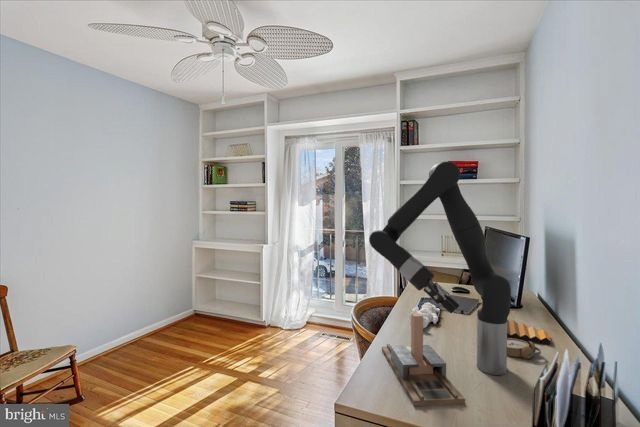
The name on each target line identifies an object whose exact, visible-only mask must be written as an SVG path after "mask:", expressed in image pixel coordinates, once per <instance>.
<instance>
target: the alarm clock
mask: <svg viewBox="0 0 640 427" xmlns="http://www.w3.org/2000/svg"><path fill="white" fill-rule="evenodd" d="M536 351H537V352H536ZM541 354H542V350H541V348H539V347H537V346H536V345H535V343H533V342H532V341H531V340H530V341H528V342H527V341H523V340H521V339H514V338H512V337H510V338H507V356H509V357H520V358H521V357H522V358H523V359H525V360H529V359H531V358H533V356H539V355H541Z"/></svg>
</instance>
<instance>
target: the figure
mask: <svg viewBox="0 0 640 427" xmlns="http://www.w3.org/2000/svg"><path fill="white" fill-rule="evenodd" d="M440 311H441V310H440V309H439V308H436V306H434V305H432V304H431V303H430V302H424V303H423V304H422V305H421V308H420V309H419V306H417V305H416V306H415V307H414V308H412V310H411V313H420V314H421V315H423V329H425V328H427V326H428V325H429V324H430V323H431V322H433V324H434V325H436V324H437V323H438V321H439V317H438V315H437V313H439V312H440ZM409 322H410V326H411V314H410V315H409Z"/></svg>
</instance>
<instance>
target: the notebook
mask: <svg viewBox="0 0 640 427" xmlns="http://www.w3.org/2000/svg"><path fill="white" fill-rule="evenodd" d="M450 296H451V298H452V299H453V300H455V301H456V302H457V303H458V304H459V307H458V308H457V309H456V310H455V311H454V312H453V313H456V314H461V315H469V314H470V313H472V311H473V310H474V309H475V308H476V307H477V306H478V305H479V304H480V299H478V298H472V297H469V296H467V297H466V296H460V295H453V294H450ZM429 303H431V304H432V305H434V306H436V307H440V308H441V310H440V311H444V312H449V311H448V310H447V309H445V308H444V307H443V306H442V304H441V305H440V304H437V303H436V302H435V301H434V300H433V299H432V301H430V302H429ZM478 303H479V304H478ZM477 304H478V305H477Z"/></svg>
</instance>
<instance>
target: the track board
mask: <svg viewBox="0 0 640 427" xmlns="http://www.w3.org/2000/svg"><path fill="white" fill-rule="evenodd" d="M391 346H392V345H391V343H387V344H386V346H381V352H382V354H383V355H384V357H385V359H386V361H387V362H388V364H389V366H390V367H391V369H392V371H393V373H394V374H395V376H396V378H397V379H398V381H399V383H400V385H401V386H402V389H403V390H404V392H405V393H406V395H407V397H408V398H409V400H410V402H411V404H412V405H413V407H421V406H422V407H425V406H426V407H427V406H437V405H438V406H444V405H445V406H446V405H465V404H466V398H465V397H464V396H463V395H462V393H461V392H460V391H459V390H458V389H457V388H456V386H455V385H454V384H453V382H451V380H449V378H448V377H447V376H446V379H444V378H443V377H442V376H441V374H440V373H439V372H438V371H437V370H436V368H435V367H433V374H418V375H409V373H408V380H403V379H402V377H401V376H400V374H399V372H398V371H397V369H396V367H395V366H394V364H393V362H392V361H391ZM404 346H405V347H406V348H407V349H408V351H409V352H410V353H411V345H404Z"/></svg>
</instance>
